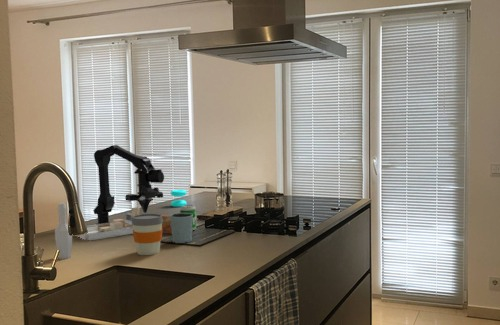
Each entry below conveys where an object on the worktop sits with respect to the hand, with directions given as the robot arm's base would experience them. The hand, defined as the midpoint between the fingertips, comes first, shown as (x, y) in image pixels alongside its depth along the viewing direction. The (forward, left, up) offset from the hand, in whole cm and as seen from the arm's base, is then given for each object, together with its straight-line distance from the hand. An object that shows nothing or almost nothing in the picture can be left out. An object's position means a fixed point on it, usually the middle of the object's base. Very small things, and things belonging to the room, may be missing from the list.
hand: (145, 212), depth 273 cm
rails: (0, -19, -7) cm, 20 cm away
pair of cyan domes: (-47, +48, -8) cm, 68 cm away
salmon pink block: (-3, -13, -5) cm, 15 cm away
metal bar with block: (0, -5, -4) cm, 7 cm away
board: (0, -15, -7) cm, 16 cm away
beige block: (+3, -17, -5) cm, 18 cm away
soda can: (+23, +12, -8) cm, 27 cm away
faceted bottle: (+34, -53, -8) cm, 63 cm away
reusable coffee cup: (+50, -24, -8) cm, 56 cm away
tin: (+20, +1, -8) cm, 21 cm away
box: (0, -29, -7) cm, 30 cm away
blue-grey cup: (+42, -3, -8) cm, 42 cm away
